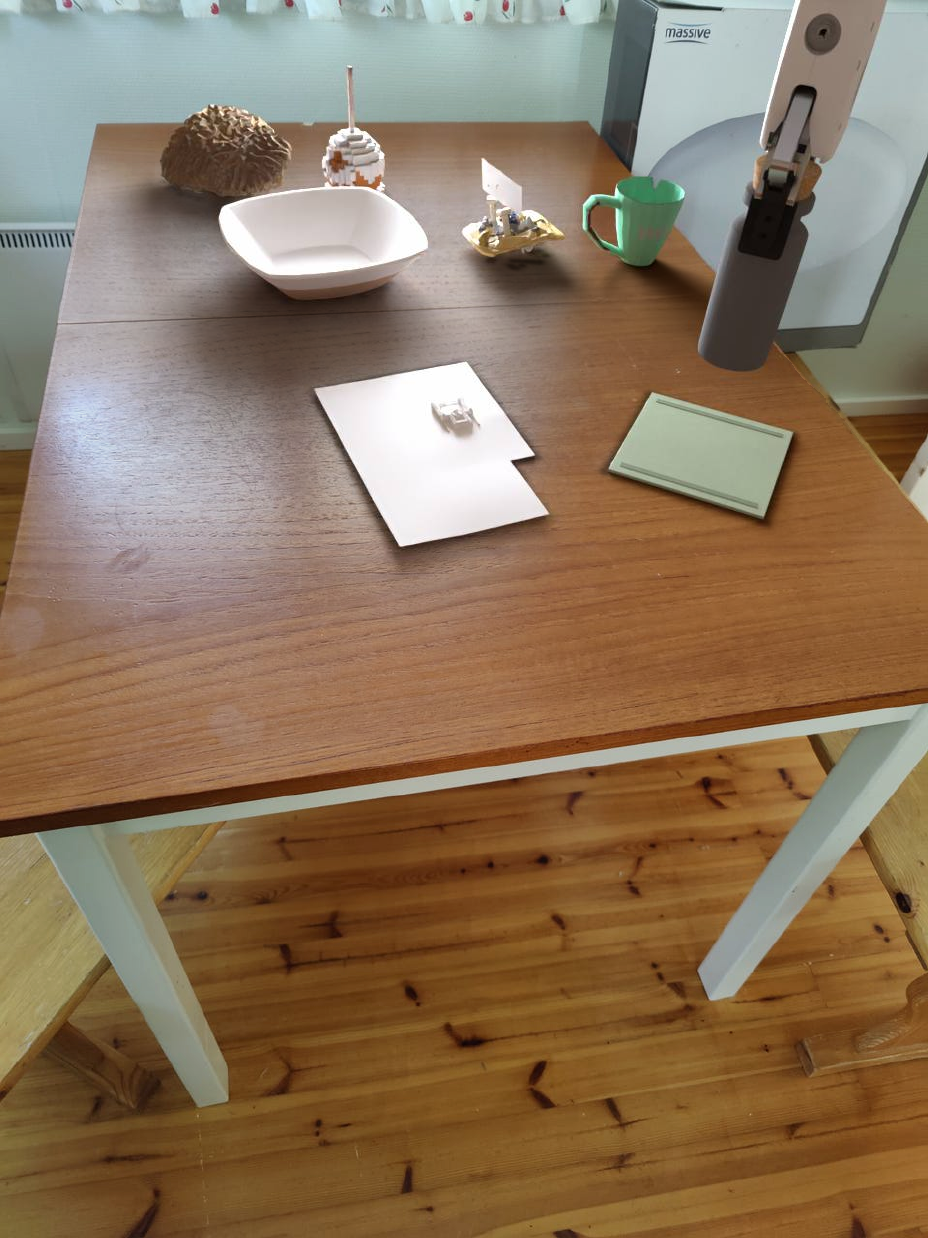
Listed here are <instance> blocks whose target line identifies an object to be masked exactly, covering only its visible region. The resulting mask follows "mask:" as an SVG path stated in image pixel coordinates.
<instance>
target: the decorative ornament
mask: <svg viewBox="0 0 928 1238" xmlns="http://www.w3.org/2000/svg"><path fill="white" fill-rule="evenodd" d="M353 71H354V70H353V66H352V65H346V86H347V108H348V128H343V129H340V130H338V131H337V134H333V135H332V136H330V137H329V140H328V146H326V147H325V148H326V154H325V156H322V159H321V168H322V171H323V176H324V177H325V179H326V182H324V186H323V188H325V187H368V188H371V189H373V190H375V191H377V192H380V193H382V194H384V195H385V191H386V185H385V184H383V182H382V178H384V177H385V173H386V170H385V169H386V168H385V167H386V166H385V165H386V164H385V163H386V162H385V154H384V153H383V152H382V151H381V145H380V144H379V143H378V142H377V141H376V140H375V139H374V138H373V137H372V136H371V135H370V134H369V133H368V132H367V131H361V129H359V128H358V127H356V124H355V122H356V121H355V98H354V96H355V95H354V74H353V73H354V72H353Z"/></svg>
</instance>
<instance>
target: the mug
mask: <svg viewBox="0 0 928 1238" xmlns="http://www.w3.org/2000/svg"><path fill="white" fill-rule="evenodd" d="M685 196H686V192H685V190H684V188H682V186H680V185H678V183H675V182H672V181H670V180H668V179H664V178H661V179H660V180H659V181H658V184H657V186H656V187H654V178H653V177H652V176H639V175H638V176H630V177H626V178H624V179H621V180H619V181H618V182H617V183H616V186H615V192H614V196H613V195H609V194H608V195H607V194H603V193H601V194H591V195H590V196H589V198H588V199H587V200H586V201H585V202H584V203H583V204H582V229H583V231H584V232H585V233H586V234H587V235H588V237H589V238H590V239H591V240H592V242H593V243H594V244H595V245H596V247H598V249H599V250H601V251H603V252H606V253H609V254H611V255H613V256H616V257H618V258H621V260H622V261H623V262H624V263H626V264H628V265H631V266H635V267H646V266H650V265H652V264H653V262H655V260H656V258H657V256H658V255H659V254H660V252H661V251H662V249H663V247H664V245H665V243H666V242H667V240H668V237H669V236H670V234H671V232H672V229H673V227H674V224H675V222H676V220H677V218H678V216H679V213H680V210H681V209H682V208H683V204H684V201H685ZM597 207H608V208H612V209H615V228H616V237H617V245H618V246H616V245H614V244H611V243H609V242H607V241H604V240H602V238H601V237H600V236H599V234H598V233H597V232H596V230H595V229H594V227H593V226H592V212H593V210H595V208H597Z"/></svg>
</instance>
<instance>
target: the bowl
mask: <svg viewBox="0 0 928 1238" xmlns="http://www.w3.org/2000/svg"><path fill="white" fill-rule="evenodd" d="M324 187H325V186H324ZM324 187H315V188H304V189H294V190H288V191H287V190H286V191H282V192H275V193H269V194H262V195H259V196H256V197H253V196H252V197H249V198H244V199H241V200H238V201H235V202H232V203H229V204H226V205H224V206H222V207H221V209H220V212H219V215H218V220H217V221H218V224H219V230H220V234H221V236H222V238H223V240H224V243H225V245H226V246H227V248H228V249H229V250H230V251H231V252H232V253H233V254H234V256H235V257H236V258H238V259H239V260H240V262H242V263H243V264H244V265H245V266H246V267H247V268H248V269H250V270H251V271H252V272H254V273H255V274H256V275H258V276H259V277H261V278H262V279H263V280H265V281H266V282H268V283H269V284H270V285H272V286H274V287H275V288H276V289H278V290H279V291H280V292H282V293H283V294H284V295H286V296H288V297H290V298H292V299H295V300H298V301H299V300H301V301H312V300H326V299H335V298H342V297H343V298H344V297H348V296H353V295H357V294H361V293H364V292H367V291H371V290H373V289H377V288H380V287H382V286H383V285H386V284H387V283H388V282H389V281H390V280H392V279H393V278H394V277H396V276H397V275H399V274H400V273H401V272H403V271H404V270H405V269H407V268H408V267H410V266H411V265H412V264H413V263H415V262H417V261H418V260H419V259H420V258H422V257H423V256H424V255H426V254H427V253H428V251H429V246H428V245H429V244H428V237H427V235H426V234H425V232H424V230H423V228H422V226H421V225H420V224H419V223H418V221H417V220H416V219H415V218H414V216H413V215H412V214H411V213H410V212H408V210H406V209H405V207H403V206H402V205H400V204H399V203H397V202H396V201H395V200H393V199H391V198H390V197H389V196H387V195H386V194H385V193H384V194H382V193H380V192H377V191H375V190H373V189H371V188H368V187H325V188H324Z"/></svg>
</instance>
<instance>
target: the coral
mask: <svg viewBox="0 0 928 1238" xmlns="http://www.w3.org/2000/svg"><path fill="white" fill-rule="evenodd" d="M187 117H188V118H185V120H184V121H183V126H180V127H178V128H176V129H175V130H173V131H174V134H172V135H171V136H170V140H169V141H168V143H167V144H168V146H166V147H164V149H163V150H162V153H161V158H160V159H159V162H160V166H161V174H160V177H162V178H164V179H165V180H166V182H167V183H168V185H170V186H174V187H177V188H180V190H186V189H187V190H192V191H194V192H195V193H197V194H198V193H199V194H203V193H204V192H206V191H208V192H213V193H215V194H216V195H217V196H219V197H228V196H230V197H232V198H233V197H234V198H237V197H241V196H245V197H246V196H251V197H252V198H253V197H258V196H263V195H266V194H267V193H269V191H270V190H272V189H273V190H276V189H278V188H280V187H282V185H283V184H284V172H285V171H286V170H288V169H289V164H290V162H291V160H292V158H291V154H292V152H293V149H292V146H291V144H290V143H289V142H288V141H287V139H286V138H284V137H283V135H279V134H277V133H275V130H274V129H273V128H272V127H271V126H270V125H269V124H268V123H267V120H264V119H263V118H262V117H260V116H259V115H255V114H253V113H249V111H248V110H247V109H242V107H241V108H240V107H235V106H234V105H221V104H207V107H204V108H203V109H202V111H195V112H194V113H193V114H191V115H188V116H187Z"/></svg>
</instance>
